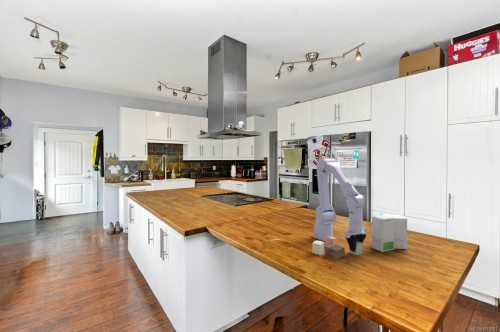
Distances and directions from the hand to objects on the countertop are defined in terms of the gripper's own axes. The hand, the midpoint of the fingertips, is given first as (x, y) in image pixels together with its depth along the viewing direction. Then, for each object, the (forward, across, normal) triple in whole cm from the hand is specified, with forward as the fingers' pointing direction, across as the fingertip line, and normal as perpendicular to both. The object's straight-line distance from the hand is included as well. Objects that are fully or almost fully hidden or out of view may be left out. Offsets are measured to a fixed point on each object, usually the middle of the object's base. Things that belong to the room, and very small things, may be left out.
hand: (355, 249), depth 107 cm
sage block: (+2, 0, 0) cm, 2 cm away
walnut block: (+2, -10, +4) cm, 11 cm away
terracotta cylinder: (+2, -4, +11) cm, 12 cm away
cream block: (+2, -14, +10) cm, 17 cm away
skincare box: (+2, +15, -5) cm, 16 cm away
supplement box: (+2, +23, -6) cm, 24 cm away
